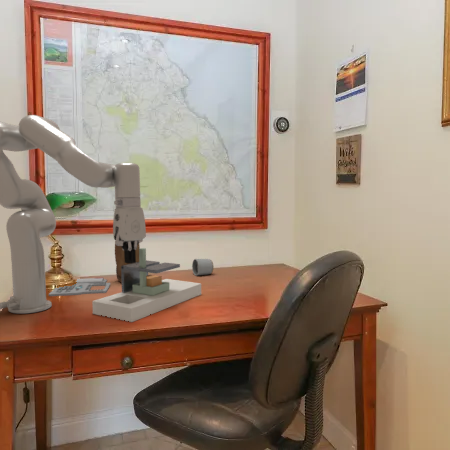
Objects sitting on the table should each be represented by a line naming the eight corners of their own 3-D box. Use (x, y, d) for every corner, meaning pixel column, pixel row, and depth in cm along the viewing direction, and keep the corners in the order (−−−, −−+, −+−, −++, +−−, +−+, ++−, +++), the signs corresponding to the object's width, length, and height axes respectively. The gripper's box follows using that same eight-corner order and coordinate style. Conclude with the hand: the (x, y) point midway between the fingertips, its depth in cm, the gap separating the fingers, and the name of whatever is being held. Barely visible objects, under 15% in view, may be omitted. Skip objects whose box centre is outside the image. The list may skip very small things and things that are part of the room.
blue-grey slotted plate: (62, 277, 170) (112, 275, 173) (63, 283, 170) (112, 281, 173) (48, 290, 147) (106, 287, 150) (48, 297, 147) (106, 294, 151)
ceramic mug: (214, 275, 182) (214, 258, 182) (198, 277, 178) (198, 260, 178) (204, 271, 191) (204, 255, 191) (189, 273, 187) (188, 257, 187)
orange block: (152, 294, 134) (151, 279, 133) (140, 292, 136) (140, 277, 136) (161, 290, 138) (161, 276, 138) (150, 289, 141) (150, 274, 140)
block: (142, 282, 168) (141, 234, 167) (125, 285, 163) (124, 235, 162) (129, 278, 177) (128, 231, 175) (113, 280, 172) (111, 233, 170)
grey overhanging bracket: (157, 298, 128) (156, 270, 128) (121, 292, 136) (121, 265, 135) (180, 290, 139) (179, 264, 138) (146, 285, 146) (145, 260, 145)
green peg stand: (152, 295, 131) (151, 249, 130) (131, 292, 135) (130, 247, 134) (169, 289, 139) (168, 246, 137) (149, 286, 143) (149, 244, 142)
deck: (131, 322, 118) (131, 308, 118) (92, 313, 126) (92, 301, 126) (201, 294, 149) (201, 283, 149) (166, 289, 157) (166, 278, 157)
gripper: (119, 204, 118) (121, 267, 119) (153, 202, 131) (155, 259, 132) (100, 204, 122) (103, 265, 123) (135, 202, 134) (137, 258, 136)
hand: (130, 262), depth 128 cm, fingers closed
